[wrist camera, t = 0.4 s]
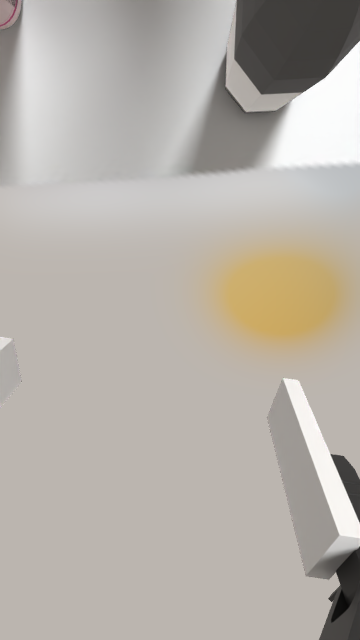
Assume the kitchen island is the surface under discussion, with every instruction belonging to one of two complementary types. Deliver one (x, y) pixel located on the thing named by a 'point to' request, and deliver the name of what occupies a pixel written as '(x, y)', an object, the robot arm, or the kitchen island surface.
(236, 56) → the wine bottle
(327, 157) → the kitchen island surface
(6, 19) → the beverage can
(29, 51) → the kitchen island surface
